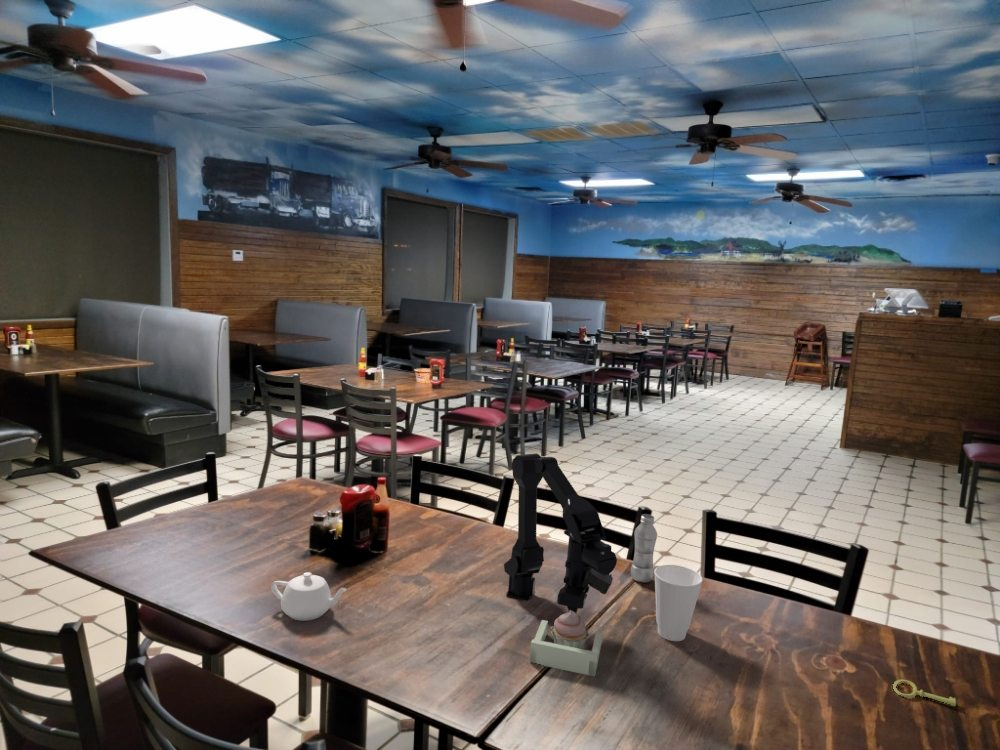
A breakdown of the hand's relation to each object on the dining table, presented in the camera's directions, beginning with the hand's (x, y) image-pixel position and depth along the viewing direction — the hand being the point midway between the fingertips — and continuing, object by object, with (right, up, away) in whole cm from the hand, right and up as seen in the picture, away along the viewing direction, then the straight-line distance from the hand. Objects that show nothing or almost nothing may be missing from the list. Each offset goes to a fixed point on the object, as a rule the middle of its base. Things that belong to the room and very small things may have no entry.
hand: (573, 616), depth 165 cm
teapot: (-66, 0, +3) cm, 67 cm away
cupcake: (-2, -6, -6) cm, 9 cm away
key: (+77, -13, -15) cm, 79 cm away
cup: (+25, -6, +4) cm, 27 cm away
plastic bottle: (+24, -2, +33) cm, 41 cm away
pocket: (-2, -6, -7) cm, 9 cm away
